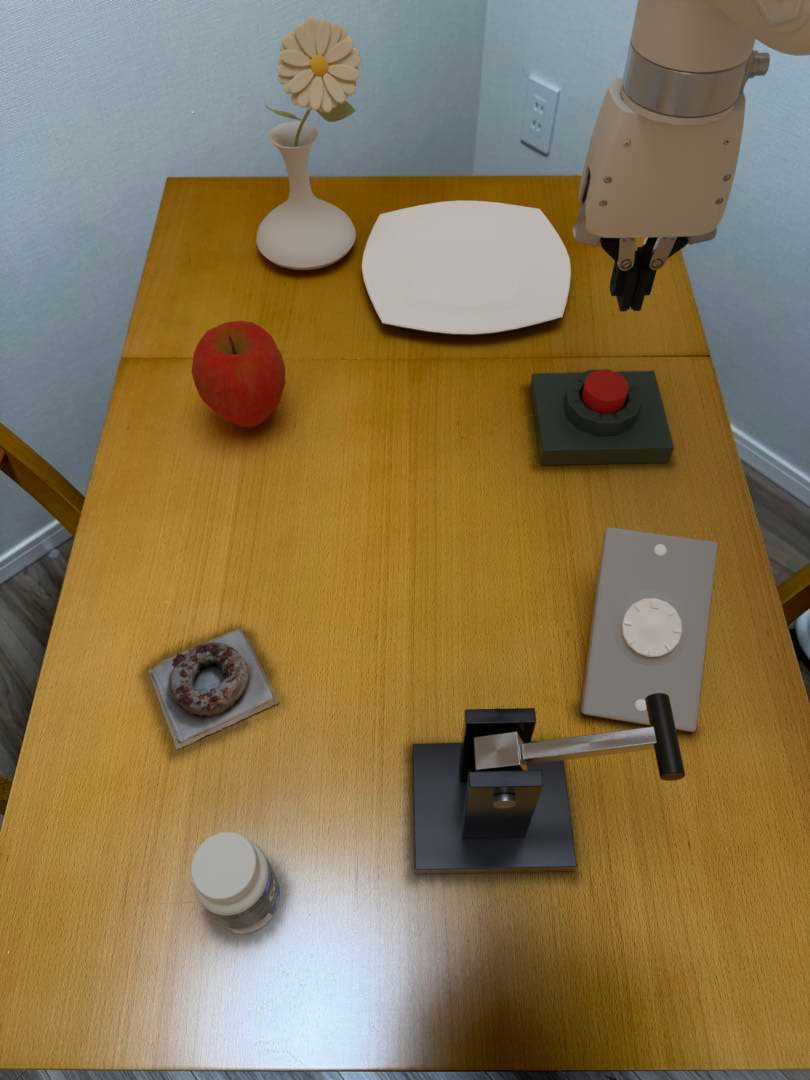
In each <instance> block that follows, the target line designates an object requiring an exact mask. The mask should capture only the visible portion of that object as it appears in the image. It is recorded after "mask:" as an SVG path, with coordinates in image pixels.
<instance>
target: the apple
mask: <svg viewBox="0 0 810 1080" xmlns="http://www.w3.org/2000/svg"><path fill="white" fill-rule="evenodd" d="M194 349H195V350H194V351H193V357H192V364H191V371H190V372H191V376H192V379H193V382H194V386H195V388H196V391H197V394H198V396H199V397H200V399H201V400H202V402H203V403H204V404H205V405H207V406H208V407H209V408H210V409H211V410H212V411H213V412H214V413H215V414H217V415H218V416H219V417H220V418H221V419H223V420H225V421H227V422H229V423H231V424H234V425H235V426H236V425H237V426H239V427H242V428H247V429H248V428H249V429H252V428H255V427H258V426H259V425H261V424H262V423H264V421H265V420H266V419H267V418H269V417H270V415H271V414H272V413H273V412H274V410H275V409H276V407H277V406H278V405H279V403H280V402H281V400H282V396H283V392H284V389H285V387H286V365H285V361H284V358H283V355H282V353H281V351H280V349H279V347H278V346H277V344H276V342H275V340H274V338H273V336H272V335H271V334H270V333H269V332H268V331H267V330H266V329H264V327H262V326H260V325H259V324H257V323H255V322H253V321H247V320H233V321H228V322H227V321H226V322H223V323H222V324H219V325H217V326H214V327H212V328H210V329H208V330H206V332H205V333H204V334H203V336H202V337H201V338H200V339H199V340H198V343H197V344H196V347H195V348H194Z"/></svg>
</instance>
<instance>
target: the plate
mask: <svg viewBox="0 0 810 1080" xmlns="http://www.w3.org/2000/svg"><path fill="white" fill-rule="evenodd" d="M366 240H367V241H366V244H365V246H364V250H363V254H362V261H361V270H362V271H361V273H362V278H363V282H364V285H365V288H366V292H367V294H368V296H369V299H370V301H371V303H372V305H373V308H374V311H375V312H376V314H377V315H378V318H379V320H380V322H381V323H382V325H384V326H390V327H396V328H401V329H406V330H413V331H419V332H424V333H429V334H430V333H431V334H441V335H451V336H482V335H493V334H494V335H495V334H500V333H505V332H511V331H517V330H520V329H525V328H529V327H534V326H537V325H542V324H546V323H549V322H552V321H556V320H560V319H562V318H563V316H564V312H565V310H566V306H567V302H568V298H569V293H570V287H571V277H572V268H571V266H572V265H571V258H570V255H569V252H568V251H567V247H566V246H565V244H564V241H563V240H562V238H561V236H560V235H559V233H558V232H557V230H556V229H555V227H554V226H553V224H552V222H550V220H549V218H548V217H547V216H546V215H545V214H544V213H543V211H542V209H540V208H537V207H531V206H524V205H518V204H511V203H504V202H497V201H495V202H494V201H484V200H447V201H438V202H432V203H425V204H419V205H415V206H409V207H405V208H400V209H397V210H392V211H388V212H384V213H380V214H379V215H378V217H377V219H376V220H375V223H374V224H373V227H372V229H371V231H370V233H369V235H368V238H367V239H366Z"/></svg>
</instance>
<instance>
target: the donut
mask: <svg viewBox="0 0 810 1080" xmlns="http://www.w3.org/2000/svg"><path fill="white" fill-rule="evenodd" d="M147 673H148V674H149V677H150V681H151V683H152V686H153V689H154V692H155V694H156V697H157V701H158V703H159V705H160V709H161V712H162V713H163V714H162V715H163V717H164V720H165V722H166V725H167V727H168V731H169V733H170V736H171V738H172V742H173V744H174V747H175V750H179V749H182V748H184V747H186V746H189V745H191V744H193V743H195V742H197V741H199V740H201V739H202V738H205V737H206V736H209V735H211V734H212V735H213V734H215V733H216V732H219V731H222V730H223V729H224V728H228V727H230V726H232V725H234V724H236V723H238V722H240V721H242V720H244V719H247V718H249V717H252V716H254V715H255V714H257V713H259V712H261V711H264V710H266V709H269V708H272V707H273V706H275V705H277V704H279V703H280V700H279V698H278V696H277V694H276V692H275V690H274V688H273V685H272V683H271V682H270V679H269V678H268V677H267V673H266V672H265V670H264V668H263V665H262V664H261V661H260V659H259V658H258V656H257V653H256V651H255V650H254V648H253V645H252V643H251V641H250V639H249V637H248V635H247V633H246V632H245V631H244V629H243V628H241V627H237V628H235V629H234V630H231V631H228V632H226V633H224V634H222V635H220V636H216V637H215V638H212V639H210V640H209V641H207V642H204V643H201V644H198V645H196V646H194V647H192V648H189V649H186V650H184V651H182V652H180V653H179V652H176V654H174V655H173V656H170V657H168V658H165V659H163V660H161V661H160V662H159V663H157V664H156V665H155V666H154V667H153V668H151V669H150V670H148V671H147Z"/></svg>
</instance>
